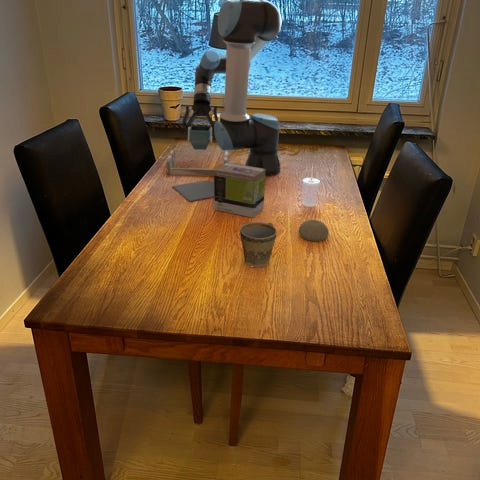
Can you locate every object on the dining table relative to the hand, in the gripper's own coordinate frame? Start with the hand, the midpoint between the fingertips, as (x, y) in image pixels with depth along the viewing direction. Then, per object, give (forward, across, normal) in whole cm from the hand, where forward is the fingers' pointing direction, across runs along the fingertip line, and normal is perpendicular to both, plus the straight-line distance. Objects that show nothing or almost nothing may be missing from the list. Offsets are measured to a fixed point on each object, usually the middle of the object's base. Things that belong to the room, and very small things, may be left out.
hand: (199, 141), depth 198 cm
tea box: (+41, -18, +25) cm, 51 cm away
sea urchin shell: (+55, -41, +38) cm, 78 cm away
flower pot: (+1, 0, -5) cm, 5 cm away
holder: (+12, 0, -2) cm, 12 cm away
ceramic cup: (+66, -24, +49) cm, 86 cm away
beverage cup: (+37, -43, +21) cm, 60 cm away
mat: (+30, -3, +15) cm, 33 cm away
